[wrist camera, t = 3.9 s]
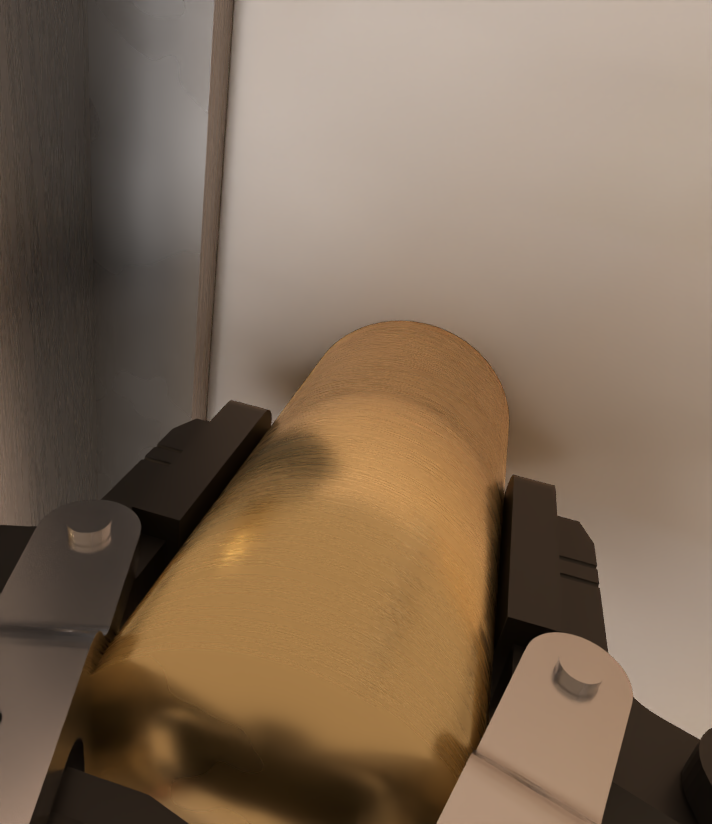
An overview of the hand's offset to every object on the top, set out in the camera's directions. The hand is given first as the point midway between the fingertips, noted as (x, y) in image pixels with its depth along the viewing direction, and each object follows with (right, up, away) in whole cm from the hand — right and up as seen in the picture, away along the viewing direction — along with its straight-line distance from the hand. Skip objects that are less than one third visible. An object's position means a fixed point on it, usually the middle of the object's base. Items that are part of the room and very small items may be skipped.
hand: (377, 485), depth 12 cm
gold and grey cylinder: (+1, +1, +2) cm, 3 cm away
